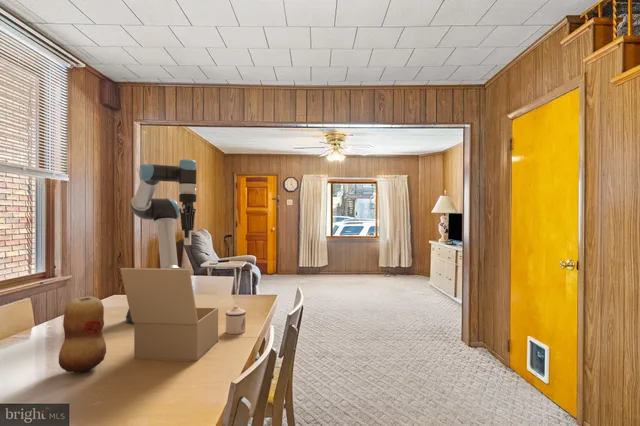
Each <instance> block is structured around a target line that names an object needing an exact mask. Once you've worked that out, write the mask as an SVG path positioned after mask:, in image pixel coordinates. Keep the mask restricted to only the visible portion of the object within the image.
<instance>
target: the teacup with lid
mask: <svg viewBox="0 0 640 426" xmlns="http://www.w3.org/2000/svg"><path fill="white" fill-rule="evenodd" d="M232 307H233V308H231V309H228V310H227V311H225V314H224V315H225V332H226V334H228V335H240V334H243V333H245V331H246V313H247V312H246V310H245V309H242V308H241V307H239V306H238V305H233V306H232Z"/></svg>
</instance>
